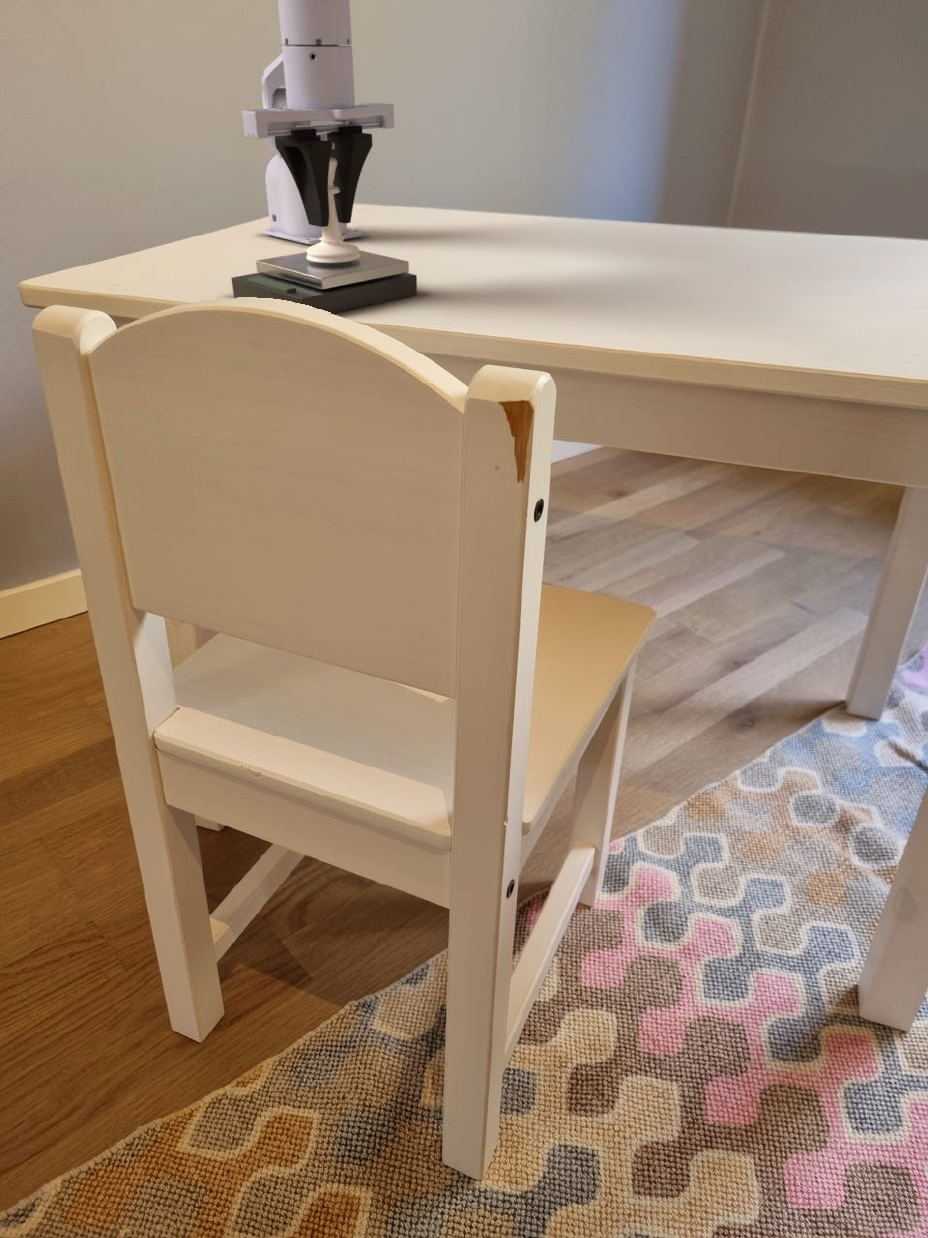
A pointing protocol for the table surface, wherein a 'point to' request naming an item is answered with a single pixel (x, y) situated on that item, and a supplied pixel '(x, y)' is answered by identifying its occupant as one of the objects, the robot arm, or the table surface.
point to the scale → (326, 291)
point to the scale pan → (332, 269)
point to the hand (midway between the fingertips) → (329, 223)
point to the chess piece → (332, 230)
